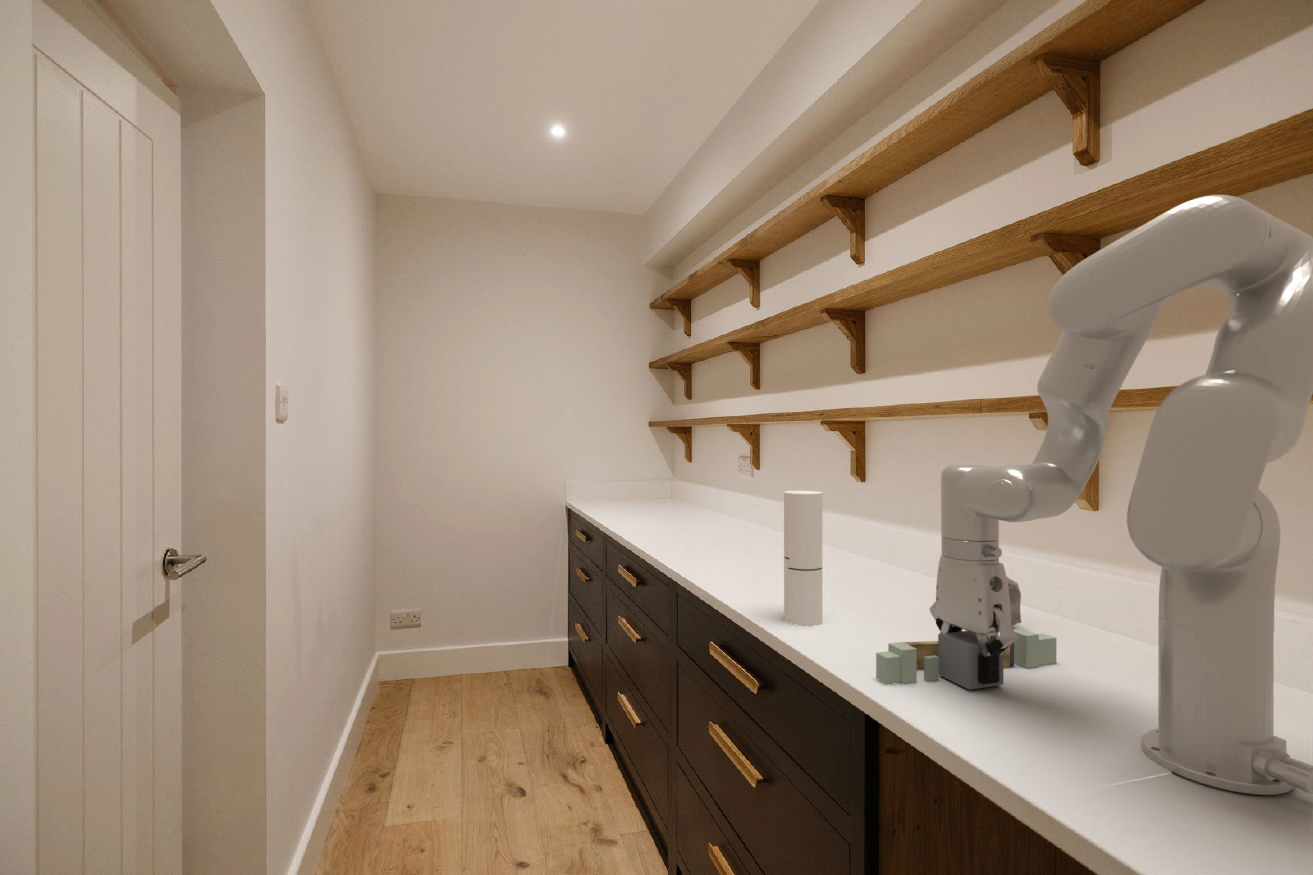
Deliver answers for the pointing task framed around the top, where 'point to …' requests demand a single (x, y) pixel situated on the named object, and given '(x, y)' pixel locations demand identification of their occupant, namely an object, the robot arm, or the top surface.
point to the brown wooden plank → (932, 649)
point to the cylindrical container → (803, 557)
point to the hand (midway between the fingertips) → (970, 673)
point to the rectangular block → (962, 659)
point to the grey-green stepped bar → (903, 658)
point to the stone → (1014, 601)
